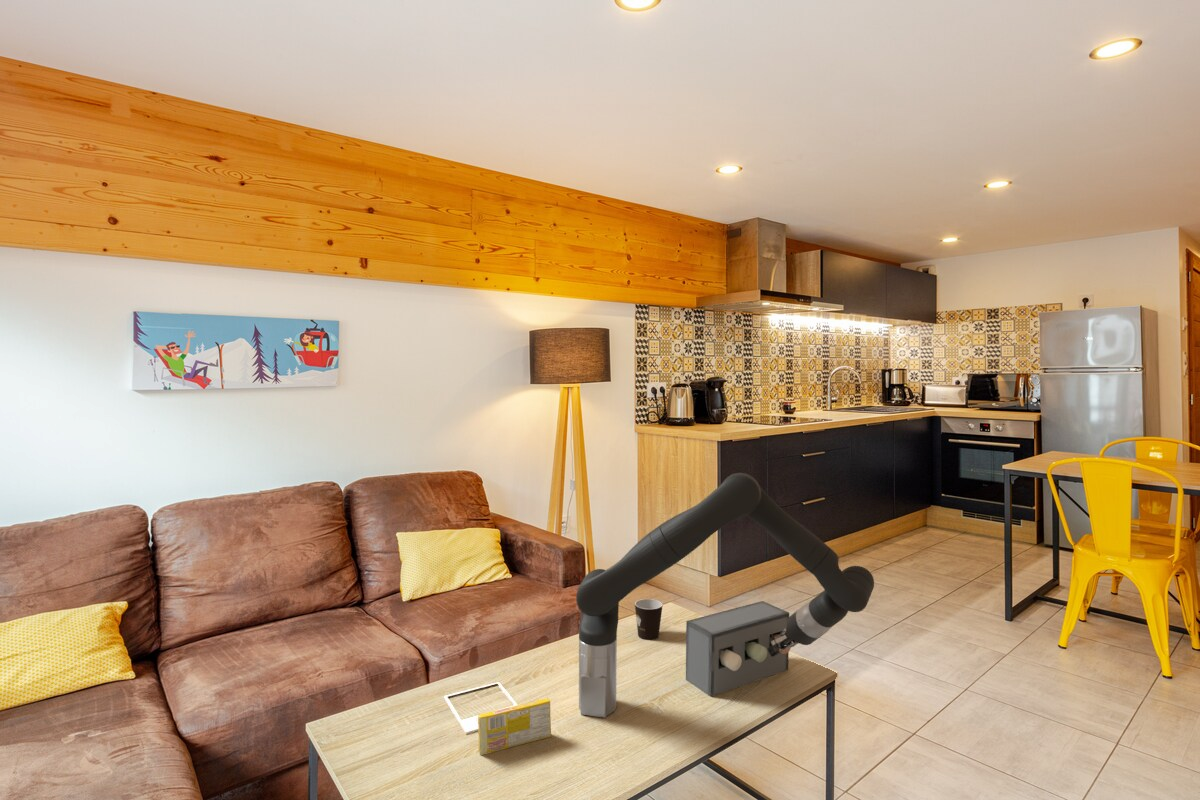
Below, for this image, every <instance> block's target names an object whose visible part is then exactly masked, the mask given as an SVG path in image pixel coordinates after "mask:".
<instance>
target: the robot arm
mask: <svg viewBox="0 0 1200 800" xmlns="http://www.w3.org/2000/svg"><path fill="white" fill-rule="evenodd" d="M743 517H747V518H748V519H750V520H752V521H754V522H755V523H757V524H758V525H759V526H760V527H761V528H763V530H765V531H766V532H767V533H768V534H769V535H770V536H771V537H772V538H773V539H774V540H775V541H776V542H777V543H778V544H779V545H780V546H781V548H783V549H784V550H785V551H786V552H787V554H789V555H790V556H791V557H792V558H793V559H794V561H796V562H797V563H799V564H800V565H801V566H802V567H804V568H805V569H806V570H807V571H808V572H809V573H811V574H812V575H813V576H814V577H815V579H816V581H818V583H819V584H820V586H821V587H822V588H823V591H821V592H820V593H819V594H817V595H816V596H815V597H814V598H813V599H811V600H810V601H808V602H806V603H805V604H803V605H802V606H801V607H799V608H798V609H797V610H796V611H794V612H793V613H792V614H791V615H789V618H788V620H787V628H785V629H784V630H782V633H781V634H779V635H778V636H777V638H776V637H771V638H770V644H771V646H770V647H769V648H768V652H769V653H770V655H771V656H772V657H773V656H776V655H777V654H779V653H780V652H781V651H783V650H786V649H788V648H794V647H795V646H796V645H798V644H799V645H802V646H808V645H809V646H810V645H812V644H813V643H814V642H815V641H817V640H819V639H820V638H821V637H822V636H824V635H825V634H826V633H828V632H829V631H830V629H832V628H833V627H834V626H835V625H837V624H838V623H839V622H841V621H842V620H843V619H844V618H845V617H846V616H847V614H848V612H851V613H858V612H862V611H863V610H865V609H866V608H867V605H868V603H869V602H870V598H871V595H872V593H873V590H874V588H875V587H874V586H875V579H874V576H873V574H872V573H871V571H869V570H868V568H865V567H864V566H860V565H851V566H847V567H846V568H844V569H843V570H841V569H840V567H839V566H840V565H839V559H840V558H839V556H838V553H836V552H835V551H834V550H833V549H832V548H831V547H830V546H828V545H827V544H826V543H825V542H824V541H823V540H821V539H820V538H818V536H816V535H815V534H814V533H812V531H810V530H809V529H807V528H806V526H804V525H802V524H801V523H800V522H798V521H797V520H796V519H794V518H793V517H792V516H791V515H789V514H788V513H787V512H786V511H785V510H784V509H782V507H780V506H779V505H778V504H777V503H776V502H775V501H774V500H773V499H772V498H771V497H770V496H769V495H768V493H767V492H766V491H765V490H764V489H763V488H762V487H761V485H760V484H759V482H758V481H757V480H756V478H755V477H753V476H752V475H750V474H748V473H745V472H736V473H732V474H730V475H729V476H727V477H726V478H725V479H724V480H723V482H722V483H721V484H720V485H719V486H717V488H716V489H714V490H713V491H712V492H711V493H710V494H709V495H708V496H706V497H705V498H704V499H703V500H702V501H700V502H699V503H698V504H696V505H695V506H693V507H691V508H689V509H687V510H684V511H682V512H680V513H678V514H676V515H674V516H673V517H671V518H669V519H668V520H666V521H664V522H663V523H660V525H659V526H657V527H655V528H654V529H653V530H651V531H649V532H648V533H647V534H646V535H645V536H644V537H643V538H641V539H640V540H639V541H637V543H635V545H634V546H633V547H632V548H630V549H629V550H628V552H627V553H626V554H625V555H623V557H621V559H620V560H618V561H617V562H616V563H615V564H614V565H612V566H611V567H608V568H607V569H603V568H596V569H593V570H591V571H589V572H588V573H587V574H586V575H585V576H584V577H583V579H582V580H581V583H579V585H578V587H577V591H576V596H575V600H576V601H575V602H576V606H577V608H578V609H579V610H580V612H581V615H580V616H581V617H580V621H579V622H580V623H579V628H578V708H579V710H580V715H583V716H584V715H585V716H590V717H596V718H597V717H598V718H607V716H608V715H610V714H613V713H614V712H615V711H616V709H617V659H618V658H617V656H618V655H617V653H618V652H617V651H618V650H617V647H618V646H617V645H618V641H617V640H618V639H617V638H618V625H619V608H620V607H619V603H620V601H622V600H623V599H624V598H625V597H627V596H628V595H629V594H630V593H632V592H633V591H634V590H635V589H637V588H638V587H640V586H642V585H644V584H645V583H647V582H649V581H650V580H652V579H653V578H656V576H659V575H660V574H661V573H663V572H665V571H666V570H668V569H669V568H671V567H672V566H675V564H677V563H679V562H680V561H681V560H683V559H684V558H686V557H687V556H689V555H690V554H691V553H692V552H693V551H695V550H696V549H697V548H698V547H700V546H702V544H703V543H705V541H707V540H708V538H710V537H711V536H712V535H713V534H715V533H716V532H718V531H720V529H722V528H724V527H726V526H728V525H730V524H731V523H733V522H735V521H737V520H739V519H741V518H743Z"/></svg>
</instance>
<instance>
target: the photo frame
mask: <svg viewBox="0 0 1200 800" xmlns="http://www.w3.org/2000/svg"><path fill="white" fill-rule="evenodd" d="M495 685H498V688H499V689H500V690H501V692H502V693H503V694H504V695H505V696H506V697H507V699H508V700H509V702H510V703H511V704H512V705H510V706H506V707H503V708H499V709H498V710H501V709H505V708H509V707H513V706H517V705H518V703H517V702H516V700H514V699H513V697H512V696H511V694H510V693H509V692H508V691H507V689H506V688H505V687H504V686H503V685H502V684H501V682H500V681H497V682H492V683H489V684H488V683H487V684H485V685H481V686H478V687H474V688H469V689H465V690H462V691H457V692H454V693H451V694H447V695H444V696H443V699H444V701H445V702H446V704H447V706H448V707H449V709H450V710H451V712H452V714H453V716H454V717H455V719H456V721H457V722H458V724H459V725H460V727H461V729H462V730H463V732H464V734H465V735H469V734H473V733H475V732H478V715H475V716H471V717H467V718H464V719H461V717H460V715H459V713H458V711H457V710H456V709H455V707H454V706H453V704H452V702H451V701H450V699H449V697H453V696H456V695H461V694H464V693H467V692H468V693H469V692H471V691H475V690H479V689H483V688H486V687H488V688H489V687H491V686H495ZM496 710H497V709H496ZM496 710H494V711H496Z"/></svg>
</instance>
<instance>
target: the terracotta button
mask: <svg viewBox="0 0 1200 800" xmlns="http://www.w3.org/2000/svg"><path fill="white" fill-rule="evenodd" d="M777 636H778V634H776V635H772V634H770V638H771V637H776V638H777ZM770 638H769V643H770ZM791 648H792V647H791ZM791 648H788V649H786V650H783V651H781V653H782V654H787V653H788V652H790V650H791Z"/></svg>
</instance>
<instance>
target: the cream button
mask: <svg viewBox="0 0 1200 800" xmlns="http://www.w3.org/2000/svg"><path fill="white" fill-rule="evenodd" d="M719 659H720V661H721V664H722V665H724V666H726V667H727V668H729V669H731V670H733V671H736V670H738V669H739V667H740V666H741V662H742V659H741V657H740V656H739V655H737V654H736V653H734V652H732V651H730V650H725V651H724V650H722V649H721V650H719Z"/></svg>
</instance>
